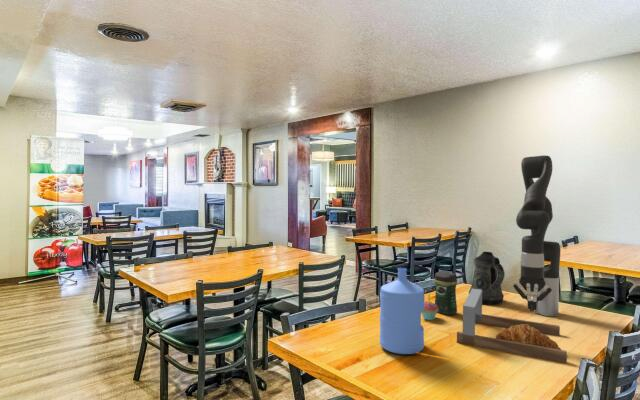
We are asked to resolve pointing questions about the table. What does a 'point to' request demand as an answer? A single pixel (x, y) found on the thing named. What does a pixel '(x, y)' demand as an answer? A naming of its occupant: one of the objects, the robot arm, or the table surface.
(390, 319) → the water jug
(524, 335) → the pastry
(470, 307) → the two-rail open rack
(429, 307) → the cupcake
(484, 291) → the beer stein
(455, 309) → the coffee jar
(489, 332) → the table surface
